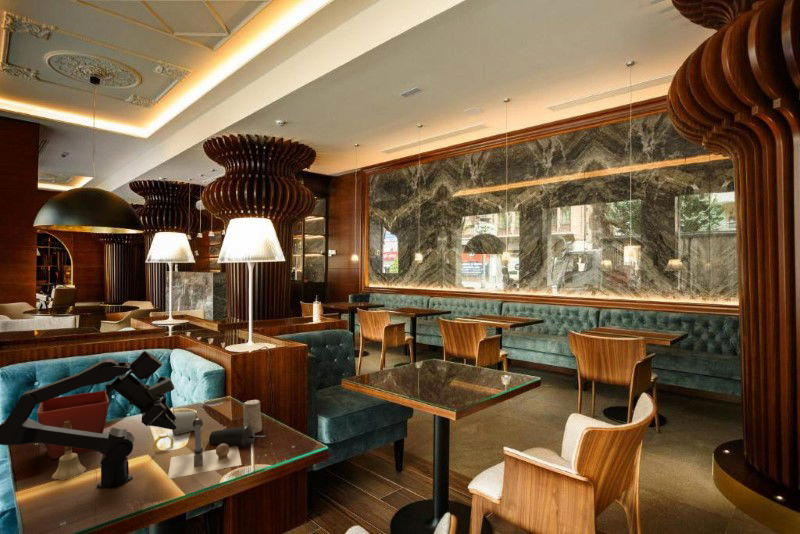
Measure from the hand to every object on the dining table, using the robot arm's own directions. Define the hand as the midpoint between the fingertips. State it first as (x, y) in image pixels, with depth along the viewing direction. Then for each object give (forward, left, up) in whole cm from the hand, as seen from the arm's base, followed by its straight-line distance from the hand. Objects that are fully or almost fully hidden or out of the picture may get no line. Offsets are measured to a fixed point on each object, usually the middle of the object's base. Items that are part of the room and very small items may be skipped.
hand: (175, 423), depth 134 cm
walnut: (+7, -11, -13) cm, 18 cm away
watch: (+11, +13, -14) cm, 23 cm away
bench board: (+4, -7, -14) cm, 16 cm away
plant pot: (+9, +46, -14) cm, 49 cm away
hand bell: (-7, +31, -14) cm, 35 cm away
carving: (+30, -9, -14) cm, 34 cm away
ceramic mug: (+29, +20, -14) cm, 38 cm away
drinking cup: (+19, 0, -12) cm, 22 cm away
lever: (+3, -6, -10) cm, 12 cm away
